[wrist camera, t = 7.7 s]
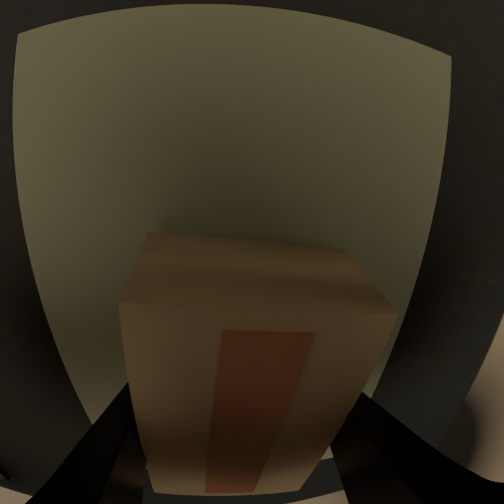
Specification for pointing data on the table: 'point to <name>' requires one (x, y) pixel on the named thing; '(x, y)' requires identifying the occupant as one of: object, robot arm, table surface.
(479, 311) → the table surface
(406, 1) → the table surface
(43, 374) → the table surface
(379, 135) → the rubber mat
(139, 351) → the striped cardboard box
